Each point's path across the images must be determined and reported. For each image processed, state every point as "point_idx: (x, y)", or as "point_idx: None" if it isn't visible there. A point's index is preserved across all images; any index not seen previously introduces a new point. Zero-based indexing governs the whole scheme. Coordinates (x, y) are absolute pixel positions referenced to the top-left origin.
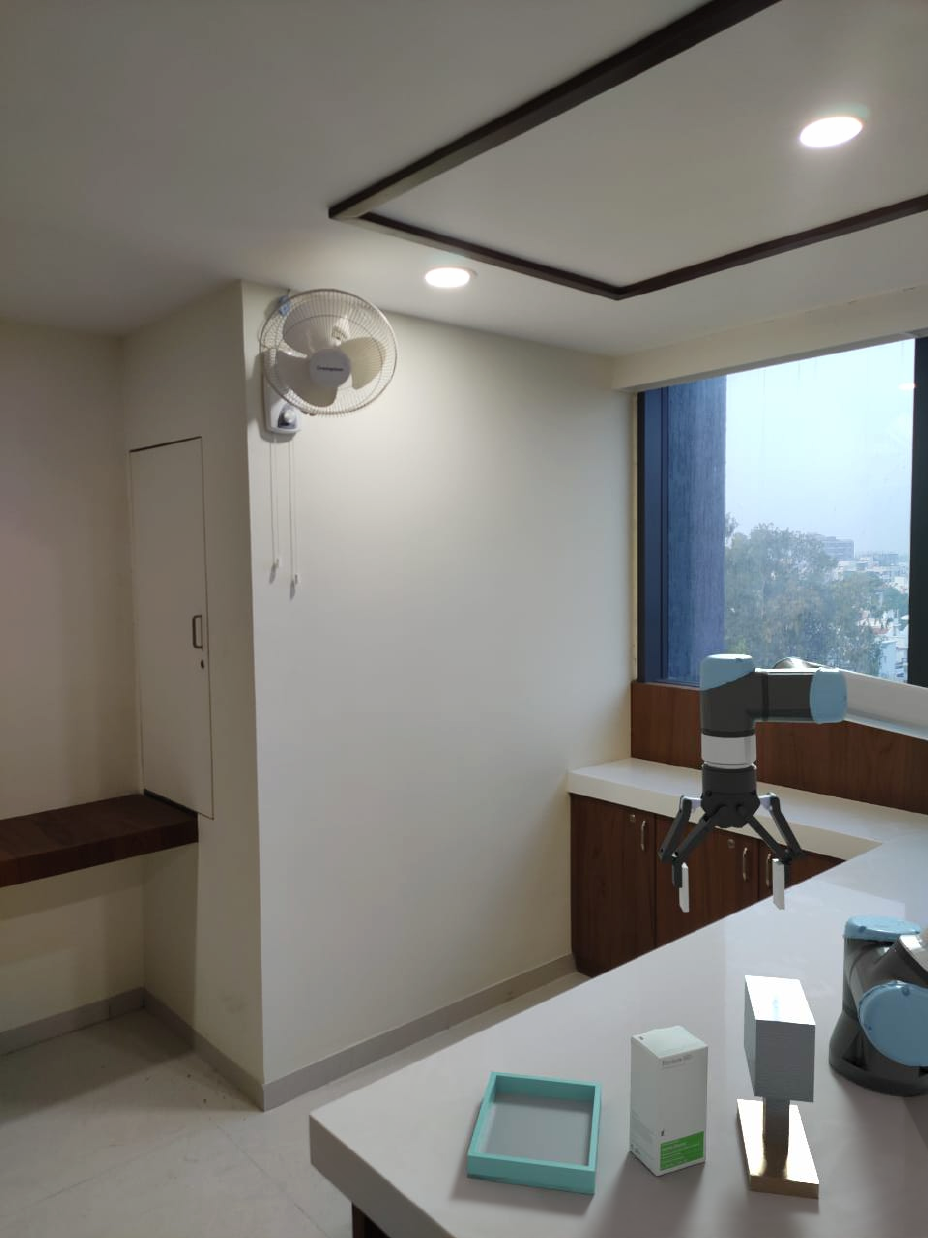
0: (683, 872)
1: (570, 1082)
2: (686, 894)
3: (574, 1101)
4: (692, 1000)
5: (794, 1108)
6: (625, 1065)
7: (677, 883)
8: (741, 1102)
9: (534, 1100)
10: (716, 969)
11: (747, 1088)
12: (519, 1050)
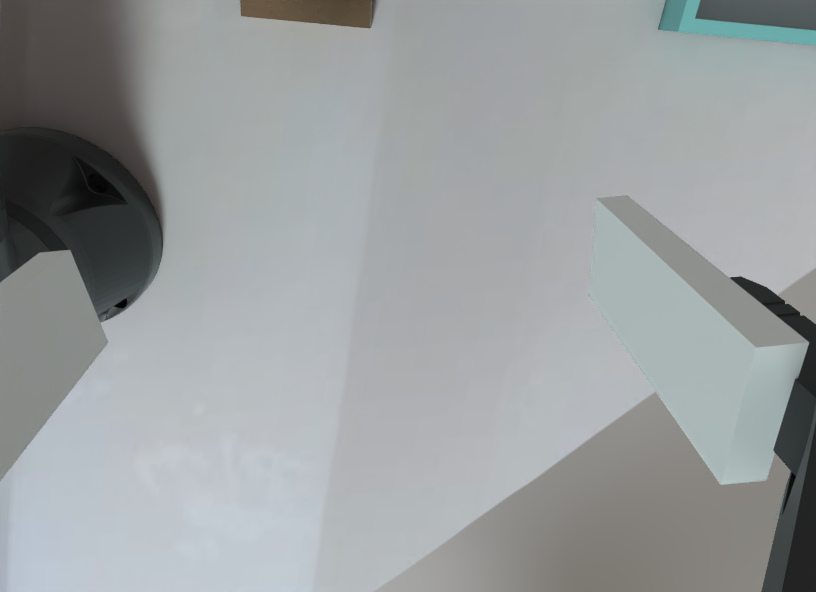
0: (773, 318)
1: (751, 26)
2: (655, 239)
3: (724, 14)
4: (398, 413)
5: (247, 4)
6: (573, 182)
7: (747, 292)
8: (362, 15)
9: (814, 7)
10: (339, 509)
11: (336, 124)
12: (781, 213)
